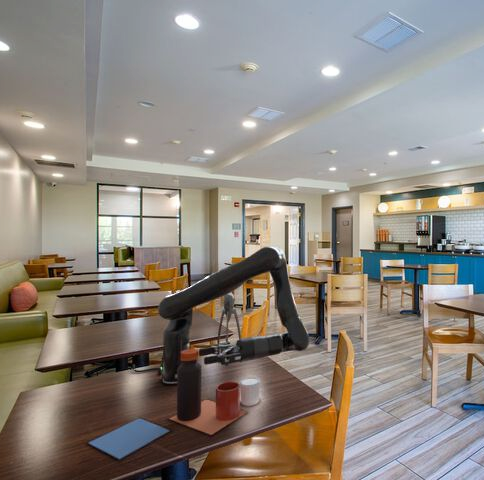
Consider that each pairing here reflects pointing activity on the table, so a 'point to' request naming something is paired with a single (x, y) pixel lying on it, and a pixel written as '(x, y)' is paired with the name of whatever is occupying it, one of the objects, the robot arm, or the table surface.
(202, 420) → the terracotta mat
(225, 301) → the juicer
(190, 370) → the bottle
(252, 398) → the grey and white cylinder
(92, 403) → the table surface
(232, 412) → the red cup
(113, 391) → the table surface
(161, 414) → the table surface
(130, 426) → the blue mat
